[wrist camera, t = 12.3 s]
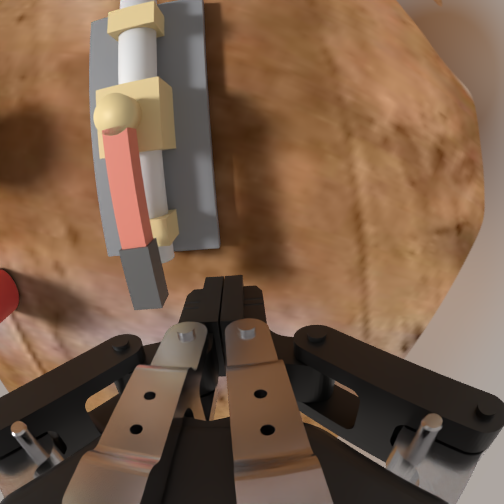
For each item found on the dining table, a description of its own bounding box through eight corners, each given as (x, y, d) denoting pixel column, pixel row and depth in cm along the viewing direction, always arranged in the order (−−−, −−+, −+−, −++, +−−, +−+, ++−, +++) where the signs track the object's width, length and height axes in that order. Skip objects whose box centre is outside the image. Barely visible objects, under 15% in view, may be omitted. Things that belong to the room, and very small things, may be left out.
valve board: (96, 26, 24) (66, 4, 17) (203, 2, 24) (194, -31, 17) (113, 252, 32) (84, 277, 25) (220, 243, 32) (214, 269, 25)
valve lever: (103, 102, 20) (90, 98, 18) (140, 92, 20) (130, 87, 18) (138, 297, 26) (130, 310, 23) (173, 294, 26) (167, 307, 23)
